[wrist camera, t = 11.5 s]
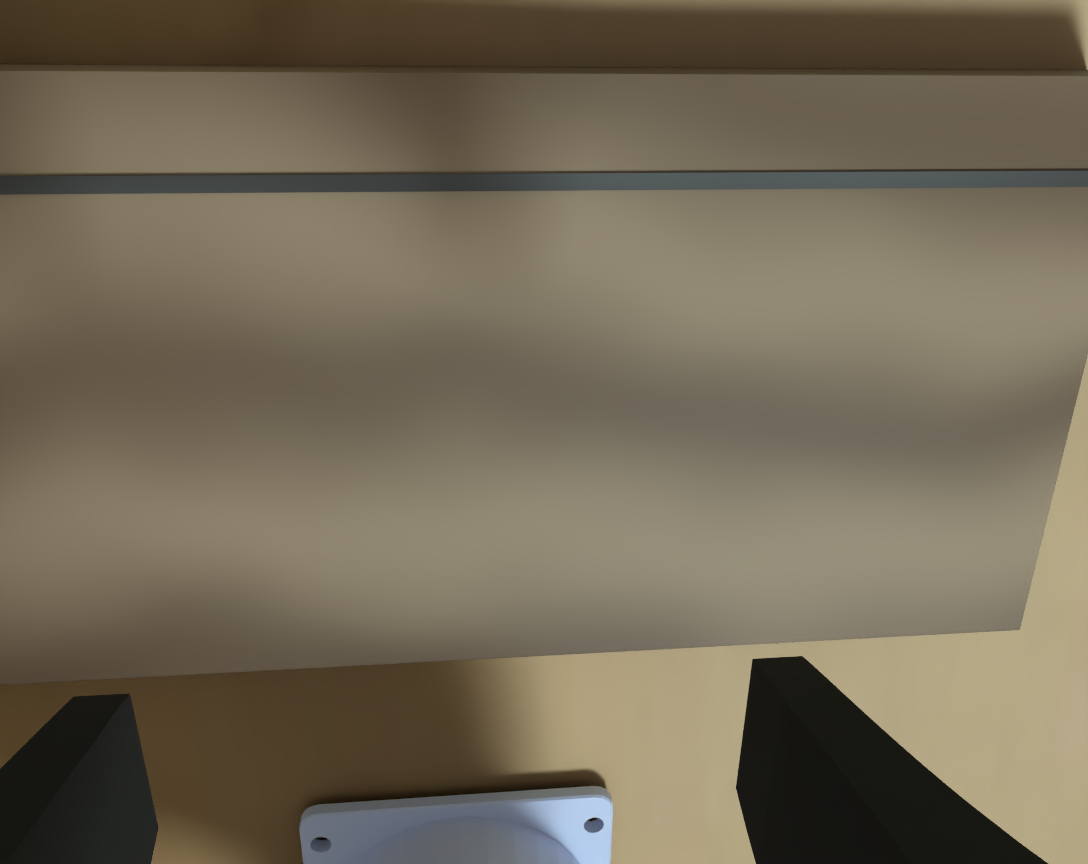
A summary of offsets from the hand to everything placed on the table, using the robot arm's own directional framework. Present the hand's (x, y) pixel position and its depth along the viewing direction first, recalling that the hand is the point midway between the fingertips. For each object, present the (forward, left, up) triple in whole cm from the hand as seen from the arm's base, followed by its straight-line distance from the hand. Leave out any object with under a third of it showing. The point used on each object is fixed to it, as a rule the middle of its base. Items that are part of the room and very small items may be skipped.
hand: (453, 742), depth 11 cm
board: (+1, +2, -10) cm, 11 cm away
